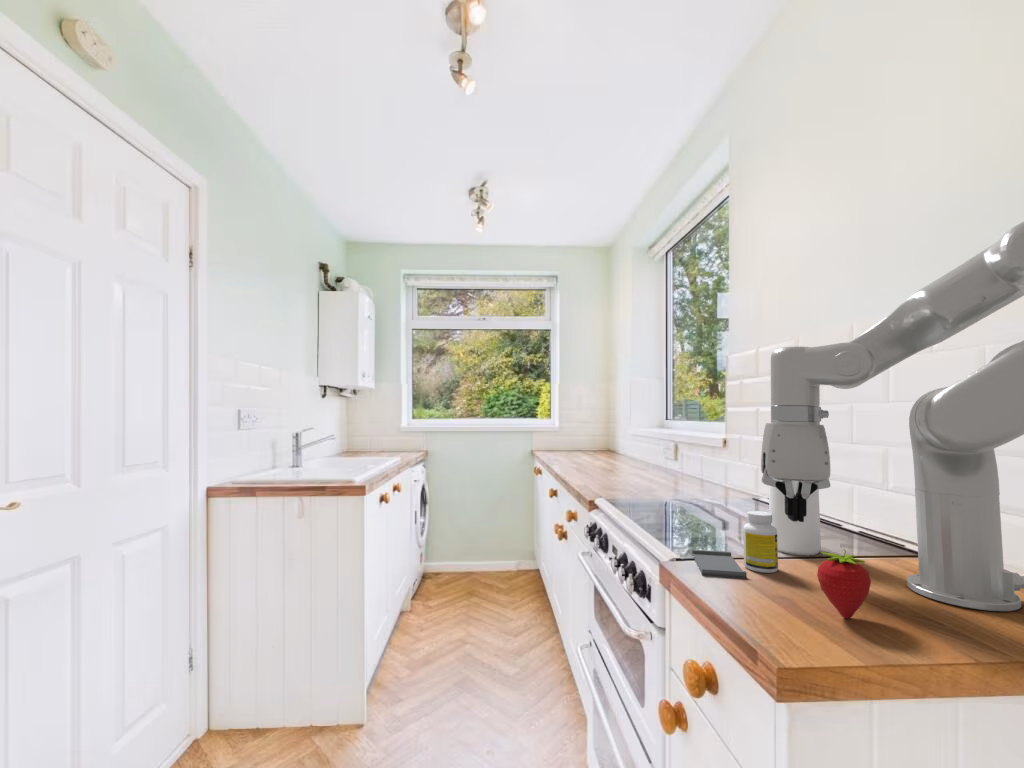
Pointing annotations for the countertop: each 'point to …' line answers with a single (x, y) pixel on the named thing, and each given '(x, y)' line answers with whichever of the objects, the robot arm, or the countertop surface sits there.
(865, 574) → the strawberry
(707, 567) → the tray
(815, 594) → the countertop surface
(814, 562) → the countertop surface
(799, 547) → the alcohol
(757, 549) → the supplement bottle
